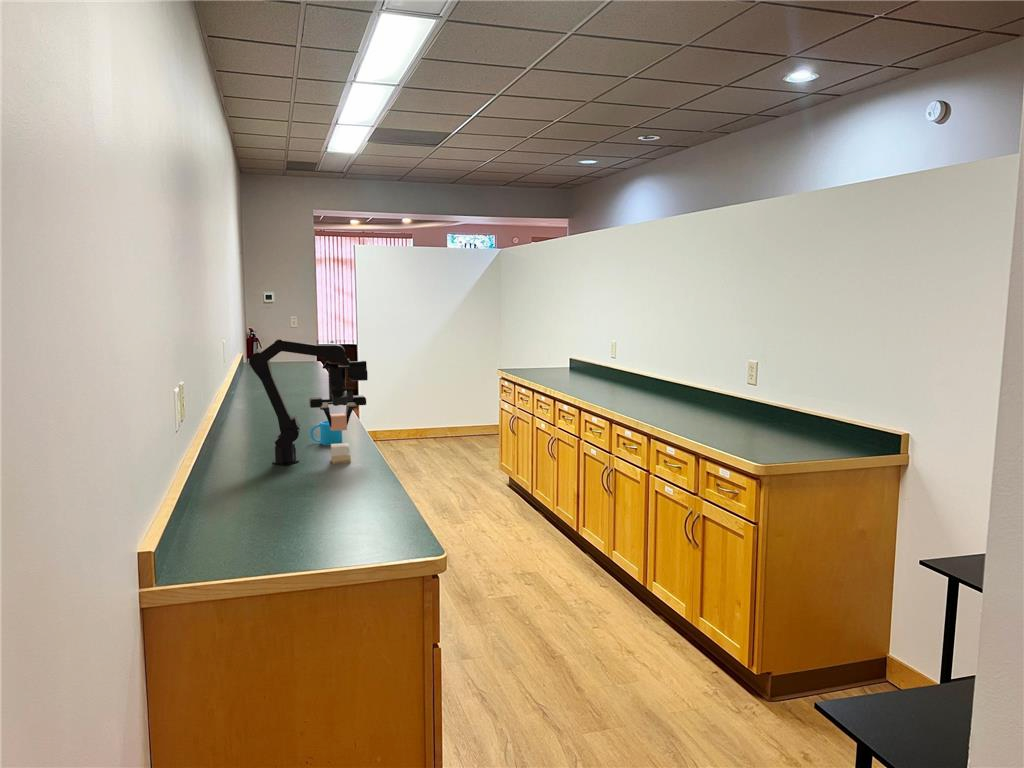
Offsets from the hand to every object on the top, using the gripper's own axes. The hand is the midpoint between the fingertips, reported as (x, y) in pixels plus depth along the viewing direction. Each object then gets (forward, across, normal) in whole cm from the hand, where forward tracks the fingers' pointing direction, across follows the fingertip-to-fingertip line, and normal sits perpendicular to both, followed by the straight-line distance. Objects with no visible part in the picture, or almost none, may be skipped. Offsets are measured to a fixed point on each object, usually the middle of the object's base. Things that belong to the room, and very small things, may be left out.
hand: (338, 426), depth 257 cm
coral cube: (+1, 0, 0) cm, 1 cm away
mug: (+12, -1, +31) cm, 34 cm away
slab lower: (+12, 0, -2) cm, 12 cm away
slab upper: (+9, 0, -2) cm, 10 cm away
